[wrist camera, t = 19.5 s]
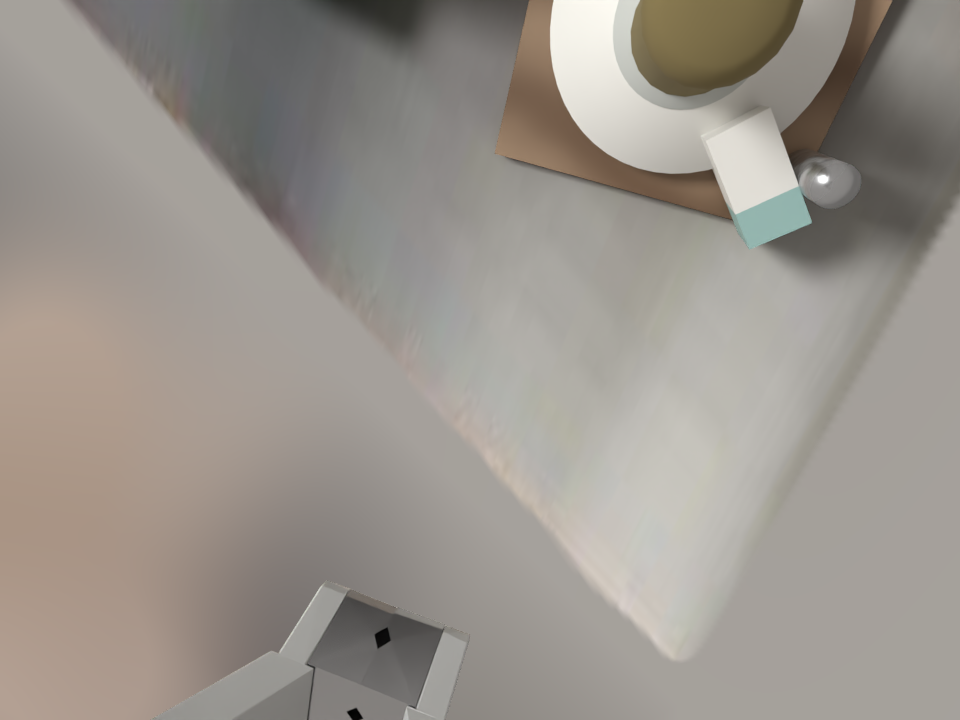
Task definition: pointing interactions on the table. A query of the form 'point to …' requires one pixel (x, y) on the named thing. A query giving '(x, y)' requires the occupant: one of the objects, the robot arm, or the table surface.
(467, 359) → the table surface
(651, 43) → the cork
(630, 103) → the white oval plate
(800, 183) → the dowel
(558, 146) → the wooden board
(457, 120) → the table surface
